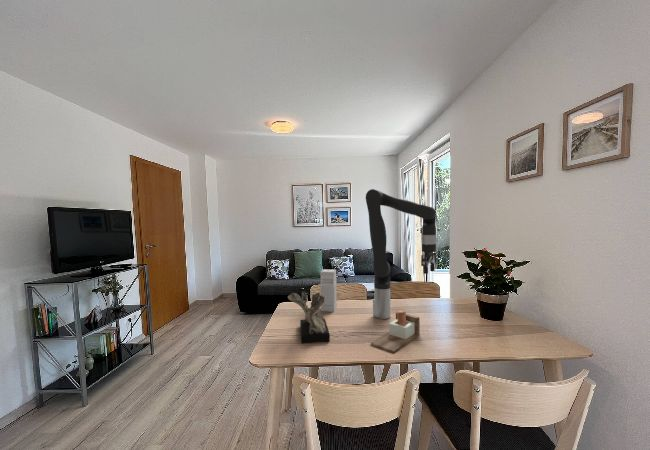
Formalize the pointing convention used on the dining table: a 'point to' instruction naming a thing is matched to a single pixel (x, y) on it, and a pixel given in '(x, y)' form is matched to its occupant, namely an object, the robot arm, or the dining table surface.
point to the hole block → (401, 329)
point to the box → (328, 290)
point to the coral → (311, 319)
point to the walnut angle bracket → (394, 342)
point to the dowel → (401, 317)
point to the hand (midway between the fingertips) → (429, 272)
